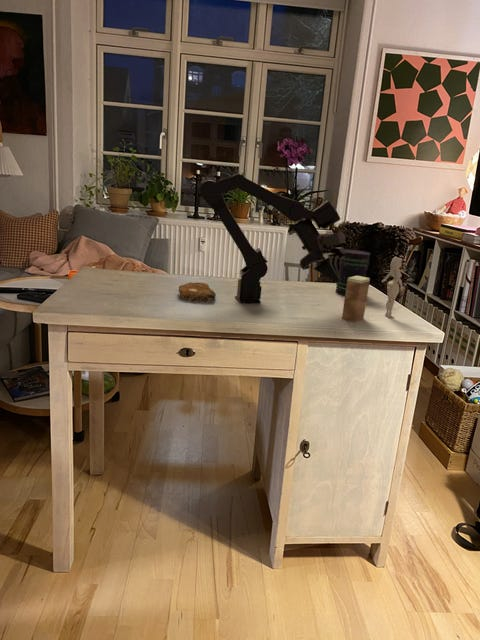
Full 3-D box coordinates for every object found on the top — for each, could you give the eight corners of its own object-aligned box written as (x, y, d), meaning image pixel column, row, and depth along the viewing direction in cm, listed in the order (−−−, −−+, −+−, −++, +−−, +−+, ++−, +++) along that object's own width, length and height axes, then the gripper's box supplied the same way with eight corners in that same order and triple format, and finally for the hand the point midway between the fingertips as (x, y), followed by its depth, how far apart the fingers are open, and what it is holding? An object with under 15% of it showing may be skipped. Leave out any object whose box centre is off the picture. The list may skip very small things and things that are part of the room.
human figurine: (403, 322, 146) (414, 261, 141) (391, 322, 145) (402, 260, 140) (383, 311, 157) (393, 254, 152) (372, 311, 156) (382, 253, 151)
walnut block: (341, 318, 144) (347, 277, 141) (350, 315, 149) (357, 275, 146) (354, 322, 142) (361, 280, 139) (363, 318, 147) (370, 278, 143)
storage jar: (369, 296, 177) (376, 253, 172) (350, 298, 171) (357, 254, 166) (347, 289, 184) (354, 248, 180) (329, 291, 178) (335, 249, 174)
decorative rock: (175, 291, 160) (180, 306, 147) (175, 279, 159) (180, 292, 145) (210, 291, 163) (219, 305, 149) (211, 278, 162) (219, 291, 148)
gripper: (314, 221, 137) (345, 269, 134) (345, 220, 152) (373, 263, 149) (286, 246, 144) (315, 291, 141) (318, 242, 158) (345, 284, 155)
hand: (339, 281), depth 146 cm, fingers closed
